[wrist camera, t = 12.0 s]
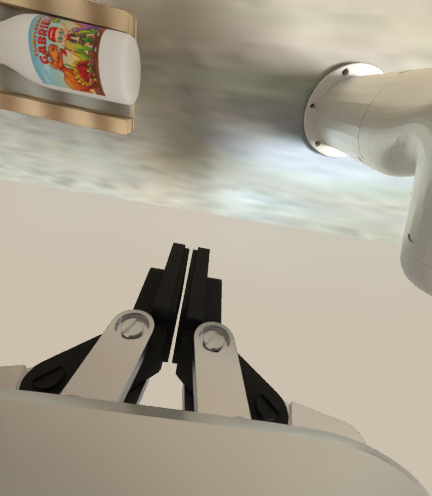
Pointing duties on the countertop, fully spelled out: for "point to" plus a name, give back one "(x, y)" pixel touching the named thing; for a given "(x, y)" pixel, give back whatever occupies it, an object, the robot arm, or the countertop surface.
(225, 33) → the countertop surface
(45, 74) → the milk bottle
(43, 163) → the countertop surface
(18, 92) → the cradle
